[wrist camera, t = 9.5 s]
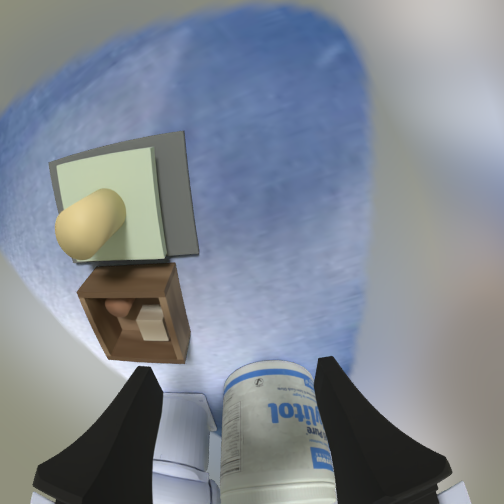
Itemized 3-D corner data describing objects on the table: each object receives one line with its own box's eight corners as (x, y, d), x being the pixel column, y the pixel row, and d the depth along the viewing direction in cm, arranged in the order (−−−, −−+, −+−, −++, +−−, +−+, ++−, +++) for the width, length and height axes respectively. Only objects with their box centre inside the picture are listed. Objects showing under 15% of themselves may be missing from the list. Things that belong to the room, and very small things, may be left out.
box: (191, 330, 23) (184, 363, 20) (121, 329, 23) (108, 359, 19) (176, 260, 20) (164, 290, 16) (98, 265, 20) (76, 292, 16)
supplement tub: (327, 361, 26) (365, 491, 13) (290, 408, 30) (307, 513, 16) (235, 347, 24) (238, 504, 11) (213, 399, 28) (209, 516, 15)
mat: (199, 251, 19) (198, 253, 19) (75, 260, 19) (73, 263, 19) (184, 130, 16) (183, 130, 15) (51, 161, 15) (48, 162, 15)
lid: (169, 248, 19) (147, 293, 14) (86, 251, 19) (50, 290, 14) (157, 145, 16) (123, 156, 11) (68, 161, 15) (19, 179, 10)
